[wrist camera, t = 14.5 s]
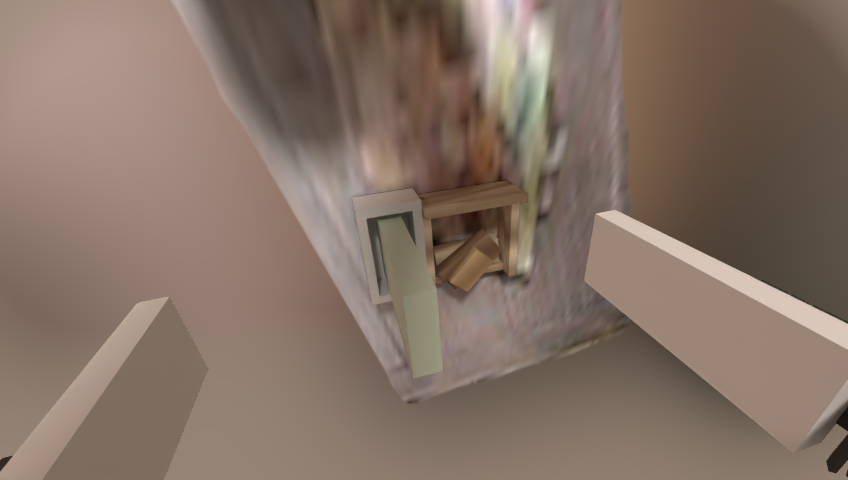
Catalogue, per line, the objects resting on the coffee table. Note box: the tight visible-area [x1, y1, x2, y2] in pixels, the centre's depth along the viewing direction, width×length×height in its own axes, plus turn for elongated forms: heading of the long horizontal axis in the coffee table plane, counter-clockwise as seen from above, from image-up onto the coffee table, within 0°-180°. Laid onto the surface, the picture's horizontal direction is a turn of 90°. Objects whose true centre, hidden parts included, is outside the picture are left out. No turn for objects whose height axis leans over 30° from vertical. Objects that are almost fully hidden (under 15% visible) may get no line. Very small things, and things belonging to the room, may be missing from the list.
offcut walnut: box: [436, 228, 502, 289], centre depth 50 cm, size 4×9×2 cm, turn 130°
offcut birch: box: [433, 233, 499, 276], centre depth 52 cm, size 4×10×2 cm, turn 98°
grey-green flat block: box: [375, 213, 443, 378], centre depth 40 cm, size 3×10×20 cm, turn 6°
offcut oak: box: [447, 245, 493, 292], centre depth 49 cm, size 4×6×2 cm, turn 143°
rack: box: [418, 180, 528, 286], centre depth 49 cm, size 14×14×6 cm
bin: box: [352, 188, 427, 305], centre depth 47 cm, size 14×8×5 cm, turn 5°
